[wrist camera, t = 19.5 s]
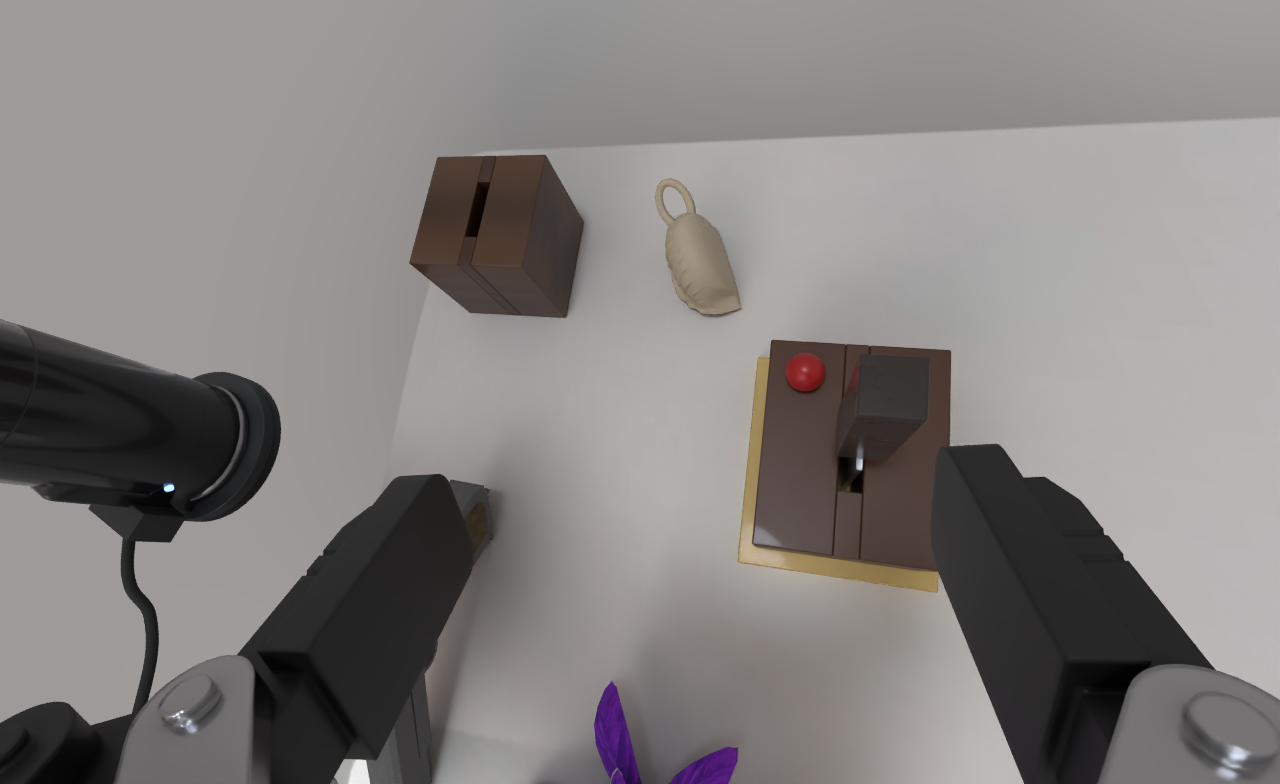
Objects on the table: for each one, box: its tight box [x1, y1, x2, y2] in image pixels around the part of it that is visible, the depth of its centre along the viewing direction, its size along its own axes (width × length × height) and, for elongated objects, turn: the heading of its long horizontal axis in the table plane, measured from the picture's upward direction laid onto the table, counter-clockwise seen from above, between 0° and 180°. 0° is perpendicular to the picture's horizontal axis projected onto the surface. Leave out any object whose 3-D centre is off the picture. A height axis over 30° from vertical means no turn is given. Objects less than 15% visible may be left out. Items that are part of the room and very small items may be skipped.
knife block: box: [409, 155, 584, 317], centre depth 42 cm, size 8×8×8 cm
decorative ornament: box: [655, 178, 741, 315], centre depth 40 cm, size 4×8×5 cm, turn 11°
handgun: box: [366, 480, 493, 784], centre depth 36 cm, size 3×18×12 cm
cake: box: [738, 340, 951, 593], centre depth 32 cm, size 13×11×9 cm
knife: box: [835, 354, 930, 491], centre depth 27 cm, size 3×2×17 cm
